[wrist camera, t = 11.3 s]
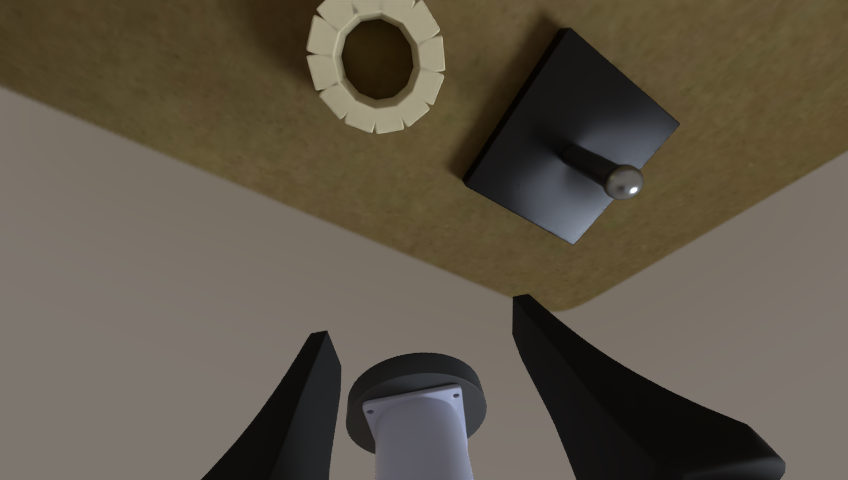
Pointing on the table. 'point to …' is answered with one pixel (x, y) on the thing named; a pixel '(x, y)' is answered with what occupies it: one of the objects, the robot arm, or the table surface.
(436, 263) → the table surface
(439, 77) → the beige ring
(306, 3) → the table surface
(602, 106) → the stand
